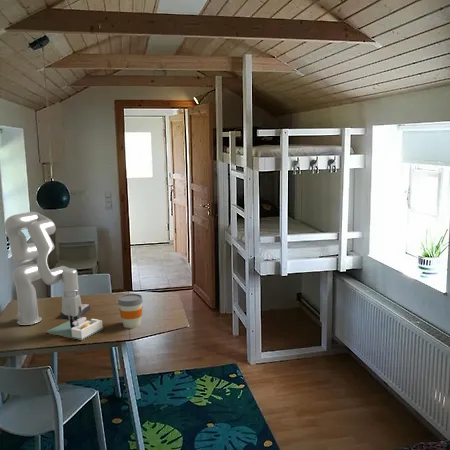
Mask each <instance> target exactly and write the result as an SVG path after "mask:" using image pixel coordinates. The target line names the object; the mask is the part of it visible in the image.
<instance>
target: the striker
mask: <svg viewBox="0 0 450 450" xmlns="http://www.w3.org/2000/svg"><path fill="white" fill-rule="evenodd" d="M72 323H73V325H74V327H73V328H75V329H80V330H81V329H82V326H83V325H84V324H85V323H88V324H90V325H91V320H87V317H85V316H82V317H81V318H79V319H77V320H75V321H74V322H72ZM73 328H72V329H73Z"/></svg>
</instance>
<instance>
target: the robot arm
mask: <svg viewBox="0 0 450 450" xmlns="http://www.w3.org/2000/svg"><path fill="white" fill-rule="evenodd" d="M4 230H5V232H6V236H7V239H8V242H9V247H10V252H11V256H12V257H11V258H12V260H13V262H14V264H17V265H21V264H24V265H21V266H19V267H17V268H15V269H14V270H13V272H12V280H13V282H14V285H15V289H16V291H15V292H16V298H17V299H16V300H17V306H18V313H17V314H16V315H15V317H16V318H18V320H17V321H16V324H17V323H18V324H20V325H30V324H34V323H38V322H40V321H41V320H42V319H43V318H42V317H41V316H39V309H38V308H39V307H38V301H37V300H38V299H37V291H36V288H35V286H34V285H33V284H32V282H36V281H38V280H40V279H42V281H43V282H44V283H45V284H46V285H48V286H51V285H55V284H58V283H61V282H62V293H63V295H62V297H61V312H62V313H63V314H65V315H66V316H68V318H69V319H68V321H70V327H71V328H73V327H74V325H73V323H72V322H74V321H75V320H77V319H78V318H80V317H81V318H83V316H81V314H82V304H83V303H82V300H81V299H82V298H81V295H80V288H79V278H78V277H79V276H78V270H77V269H76V268H73V267H71V268H70V267H67V266H66V265H61V266H58V267H57V266H56V267H53V268H51V269H50V268H49V267H50V266H49V264H48V256H49V255H50V253H51V252H52V251H54V250H55V244H54V242H53V240H52V238H51V236H50V235H54V234H55V232H56V230H57V228H56V224H55V222H54V221H53V220H52V219H50V218H49V217H47V216H45V215H43V214H41V213H39V212H36V211H28V212H23V213H17V214H14V215H11V216H9V217H7V218H6V220H5V222H4ZM22 230H27V232H28V234H29V236H30V238H31V241H32V242H30V243H28V242H27V236H26V234H24V232H23V231H22ZM25 263H28V264H25ZM42 321H43V320H42ZM42 321H41V322H42ZM41 322H40V323H41ZM38 324H39V323H38Z"/></svg>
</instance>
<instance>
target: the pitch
mask: <svg viewBox="0 0 450 450" xmlns="http://www.w3.org/2000/svg"><path fill="white" fill-rule="evenodd" d="M71 329H72V328H71V327H70V320H68V321H66V322H64V323H61V324H60V325H57V326H55V327H53V328H51V329H48V330H46V331H45V333H46V332H49V333H53V334H57V335H62V336H66V337H70V338H74V339H78V340H77V341H79V340H83V339H84V340H86V339H88V338H90V337H91V335H92V336H94V335H95V333H96V334H97V333H99V332H101V331H103V330H104V327H103V328H101V329H99V330H97V331H96V332H94V333H92V334H90V335H88V336H86V337H84V338H82V339H81V338H76V337H72V330H71ZM93 334H94V335H93ZM89 336H90V337H89ZM87 337H88V338H87ZM85 338H86V339H85ZM74 339H73V340H74ZM84 340H83V341H84Z"/></svg>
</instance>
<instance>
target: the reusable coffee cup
mask: <svg viewBox="0 0 450 450" xmlns="http://www.w3.org/2000/svg"><path fill="white" fill-rule="evenodd" d="M143 301H144V300H143V296H142V295H141V294H138V293H127V294H123V295H121V296H119V297H118V301H117V302H118V304H117V305H118V306H119V314H120V318H121V319H122V320H121V321H122V324H123V327H124V328H127V329H133V328H137V327H140V326H141V323H142V316H143Z"/></svg>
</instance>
